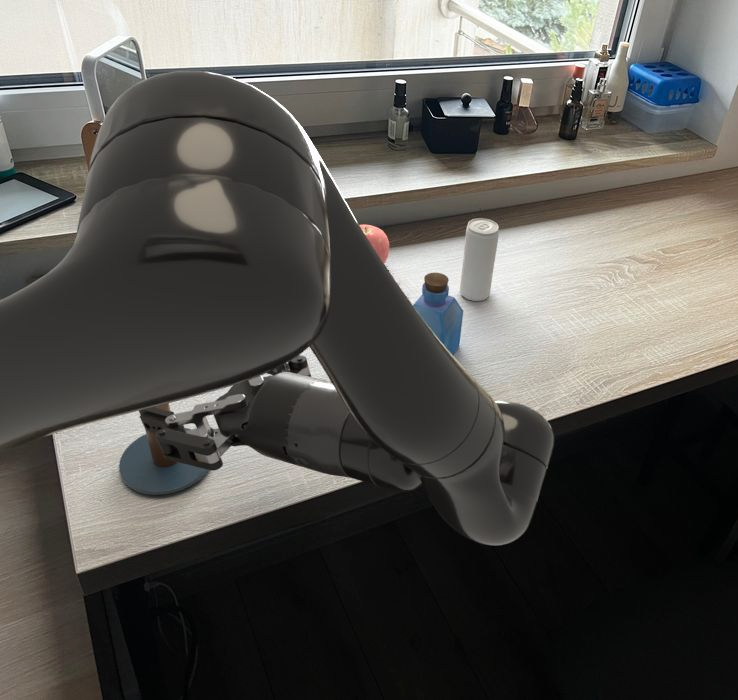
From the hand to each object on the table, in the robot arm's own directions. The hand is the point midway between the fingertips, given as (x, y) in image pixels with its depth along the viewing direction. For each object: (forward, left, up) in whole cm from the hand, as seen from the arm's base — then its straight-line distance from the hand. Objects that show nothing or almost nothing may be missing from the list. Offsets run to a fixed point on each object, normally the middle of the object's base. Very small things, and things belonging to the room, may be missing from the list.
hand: (178, 388), depth 68 cm
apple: (+41, +27, -16) cm, 51 cm away
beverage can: (+51, +12, -16) cm, 55 cm away
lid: (-1, +6, -15) cm, 16 cm away
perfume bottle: (+36, +5, -16) cm, 40 cm away
